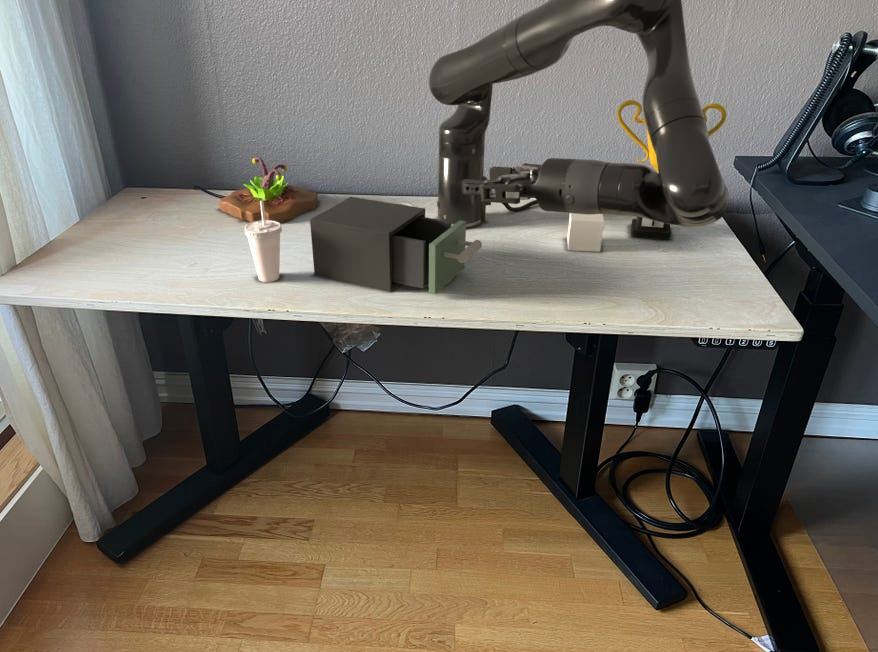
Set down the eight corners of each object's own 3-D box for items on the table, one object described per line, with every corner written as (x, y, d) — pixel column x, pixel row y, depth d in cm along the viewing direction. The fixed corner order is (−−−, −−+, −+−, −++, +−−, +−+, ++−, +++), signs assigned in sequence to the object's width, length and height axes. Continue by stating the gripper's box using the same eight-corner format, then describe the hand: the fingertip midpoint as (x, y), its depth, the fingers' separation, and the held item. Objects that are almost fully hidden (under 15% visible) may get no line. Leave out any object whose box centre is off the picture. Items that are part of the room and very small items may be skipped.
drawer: (486, 272, 127) (488, 224, 122) (458, 299, 117) (459, 249, 113) (393, 254, 134) (392, 209, 130) (360, 279, 125) (358, 231, 121)
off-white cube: (597, 240, 141) (601, 211, 138) (600, 251, 136) (604, 221, 133) (566, 238, 142) (570, 209, 139) (567, 250, 137) (571, 220, 134)
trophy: (600, 237, 143) (621, 78, 127) (602, 220, 151) (622, 69, 135) (702, 246, 138) (737, 82, 123) (698, 228, 146) (731, 72, 131)
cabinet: (425, 263, 133) (425, 208, 127) (390, 291, 123) (388, 233, 117) (353, 249, 139) (350, 196, 134) (314, 275, 129) (309, 219, 123)
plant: (269, 188, 173) (264, 141, 168) (331, 202, 163) (327, 153, 158) (206, 211, 160) (198, 161, 154) (268, 228, 150) (262, 176, 144)
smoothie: (293, 272, 130) (285, 197, 123) (276, 287, 125) (267, 209, 118) (261, 268, 132) (252, 194, 125) (244, 282, 127) (233, 206, 119)
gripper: (596, 149, 105) (498, 146, 114) (555, 171, 95) (451, 165, 104) (594, 200, 108) (499, 192, 117) (555, 226, 98) (454, 216, 107)
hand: (477, 180), depth 111 cm, fingers open, 8 cm apart
